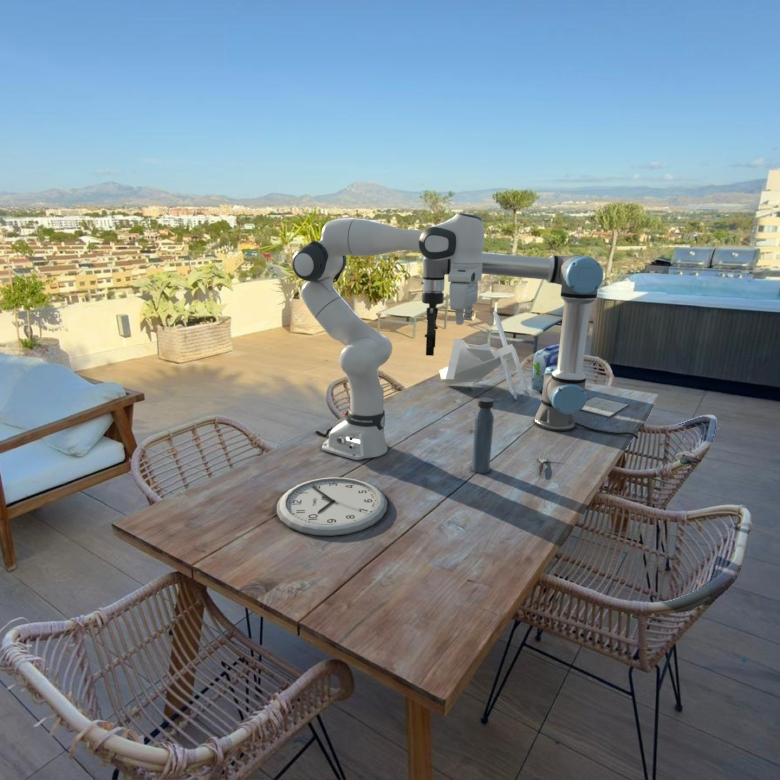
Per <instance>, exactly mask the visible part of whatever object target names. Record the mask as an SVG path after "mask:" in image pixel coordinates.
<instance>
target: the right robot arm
mask: <svg viewBox="0 0 780 780" xmlns="http://www.w3.org/2000/svg"><path fill="white" fill-rule="evenodd" d="M482 261H483V265H482V275H492V276H500V277H501V276H502V277H512V278H513V277H514V278H522V279H523V278H524V279H535V280H545V281H546V282H547V283H548V284H557V285H560V286H561V287H560V298H561V299H562V300H563V303H564V304H563V312H562V318H561V319H562V320H561V330H560V337H559V338H560V339H559V345H560V346H559V354H558V363H557V366H553V367H547V368H546V369H545V373H544V382H543V392H542V391H541V393H542V394H541V402H540V405H539V407H538V410H537V411H536V413H535V416H534V424H535V425H536V426H537V427H539V428H542V429H544V430H549V431H556V432H567V431H572V430H574V429H575V428H576V426H578V427H581V428H583V429H586V430H589V431H593V432H597V433H601V434H609V435H615V436H616V435H617V436H625V435H626V436H627V435H629V436H632V437H634V438H635V439H639V436H638V435H637V434H636V433H633V432H629V431H627V432H626V431H625V432H615V431H609V430H602V429H597V428H593V427H589V426H586V425H584V424H582V423H579V422H576V418H575V417H576V416H575V414H576V413H579V412H580V411H582V410H581V409H582V408H583V407H584V406H585V404H586V401H588V397H587V392H586V391H585V390H586V389H585V388H586V383H587V382H586V381H587V375H586V374H585V373H584V371H583V369H584V360H585V353H586V347H587V339H588V338H587V337H588V330H589V324H590V323H589V322H590V314H591V308H592V307H591V306H592V303H593V302H594V301H596V300H597V298H598V291H599V288H600V286H601V285H602V283H603V281H604V270H603V267H602V265H601V264H600V263H599V262H598V261H597V260H596V259H595V258H594V257H591V256H587V255H581V254H580V255H579V254H572V255H551V256H549V257H543V256H542V257H541V256H531V255H530V256H529V255H528V256H527V255H516V254H506V253H505V254H503V253H493V252H482ZM450 271H451V260H446V259H445V260H438V261H434V260H430V259H427V258H426V257H424V256H423V259H422V281H420V285H422V291H423V292H422V293H421V302H422V303H423V304H428V307H426V310H425V311H426V321H427V324H426V334H424V338H425V340H426V341H425V342H426V343H425V356H430V357H431V356H432V357H433V356H435V352H434V351H435V348H436V338H437V337H436V336H437V330H438V328H439V326H437V320H438V314H439V308H438V307H437V306H438V305H440V304H441V305H442V304H443V303H444V297H445V296H444V295H445V294H444V291H445V280H446V279H445V275H447V276H448V275H449V273H450Z"/></svg>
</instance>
